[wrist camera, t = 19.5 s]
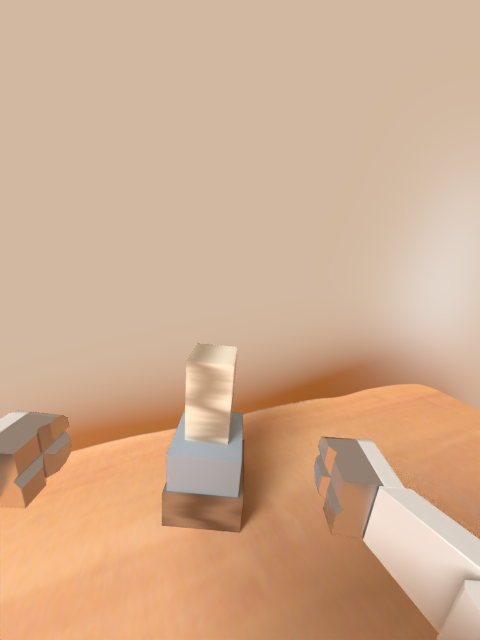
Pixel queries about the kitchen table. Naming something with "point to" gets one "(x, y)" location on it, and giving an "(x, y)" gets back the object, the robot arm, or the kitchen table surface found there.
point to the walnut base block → (204, 508)
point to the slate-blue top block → (206, 462)
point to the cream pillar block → (210, 393)
